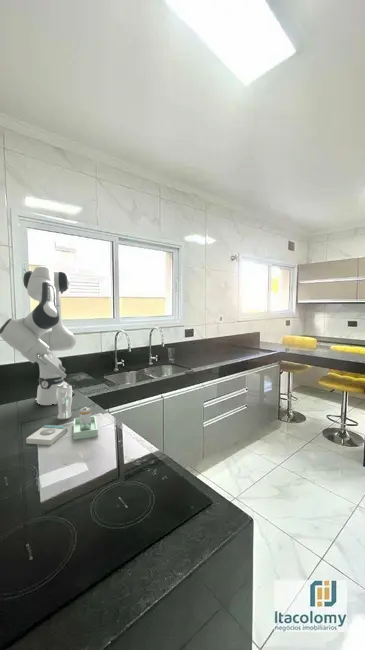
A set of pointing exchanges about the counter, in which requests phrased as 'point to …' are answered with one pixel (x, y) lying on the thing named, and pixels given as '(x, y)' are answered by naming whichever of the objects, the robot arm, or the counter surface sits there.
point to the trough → (88, 433)
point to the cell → (85, 419)
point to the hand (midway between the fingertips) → (64, 373)
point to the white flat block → (46, 435)
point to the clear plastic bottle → (64, 401)
